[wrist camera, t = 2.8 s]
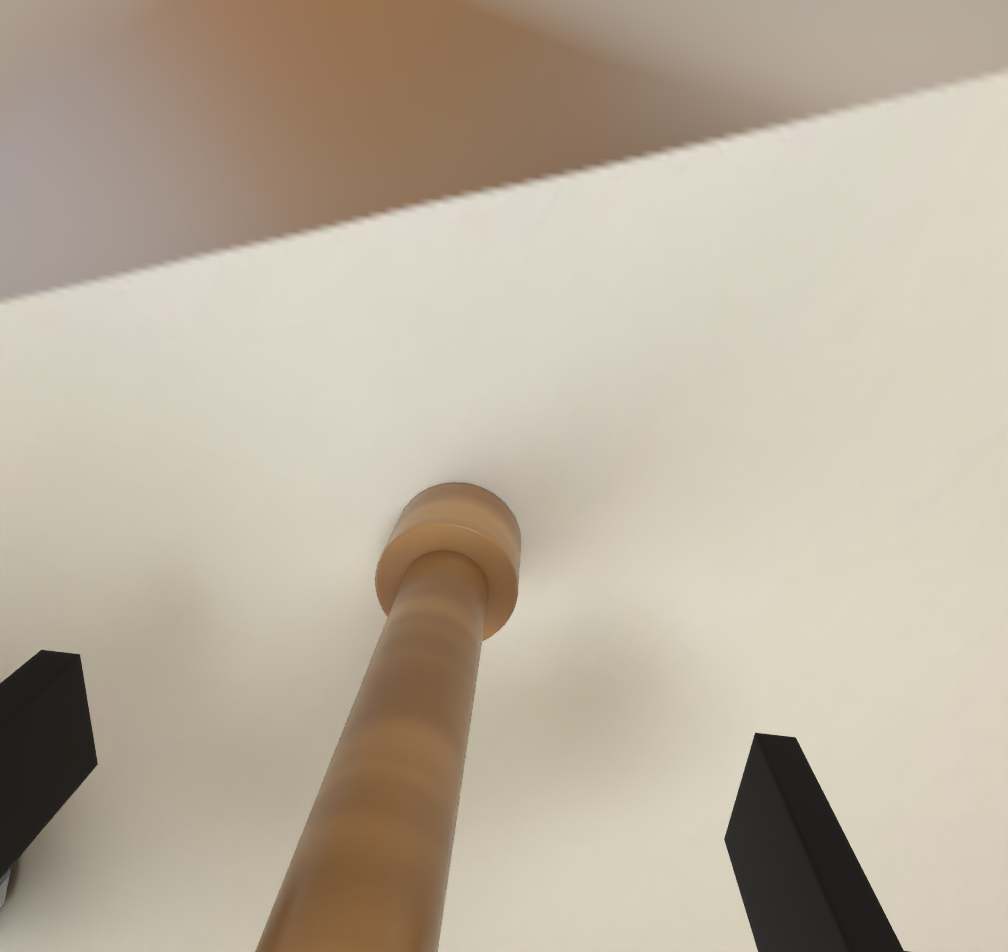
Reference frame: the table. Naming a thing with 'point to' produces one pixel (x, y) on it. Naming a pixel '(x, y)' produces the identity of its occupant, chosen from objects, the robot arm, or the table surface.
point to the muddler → (404, 737)
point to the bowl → (4, 887)
